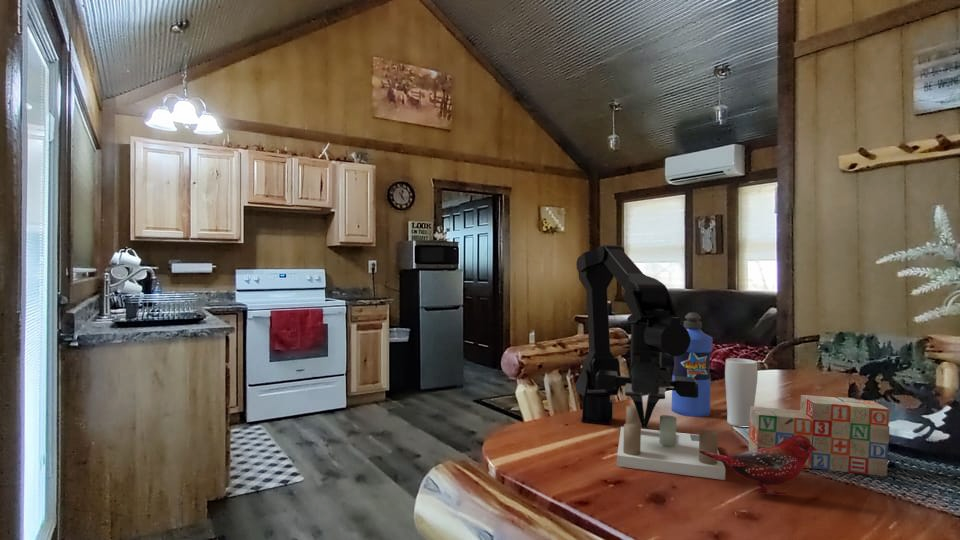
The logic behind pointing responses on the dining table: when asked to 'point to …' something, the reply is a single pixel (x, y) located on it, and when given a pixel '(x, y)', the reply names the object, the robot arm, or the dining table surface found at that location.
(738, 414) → the drinking glass
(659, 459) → the stool seat
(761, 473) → the decorative bird figurine
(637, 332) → the robot arm
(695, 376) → the water bottle
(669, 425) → the hinged leg
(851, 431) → the stack of blocks
